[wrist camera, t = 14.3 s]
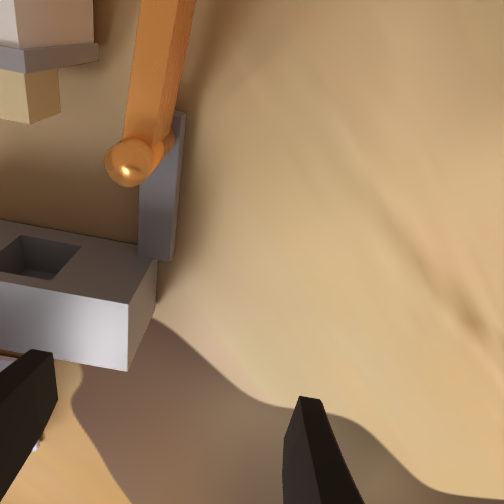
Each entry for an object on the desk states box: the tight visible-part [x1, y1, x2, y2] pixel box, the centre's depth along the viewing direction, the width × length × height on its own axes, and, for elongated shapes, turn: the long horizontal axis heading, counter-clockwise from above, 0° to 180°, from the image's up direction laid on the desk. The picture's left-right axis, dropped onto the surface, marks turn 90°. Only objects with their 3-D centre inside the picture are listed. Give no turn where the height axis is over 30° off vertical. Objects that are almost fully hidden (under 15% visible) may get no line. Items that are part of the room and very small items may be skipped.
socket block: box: [0, 110, 187, 371], centre depth 17 cm, size 11×11×5 cm
